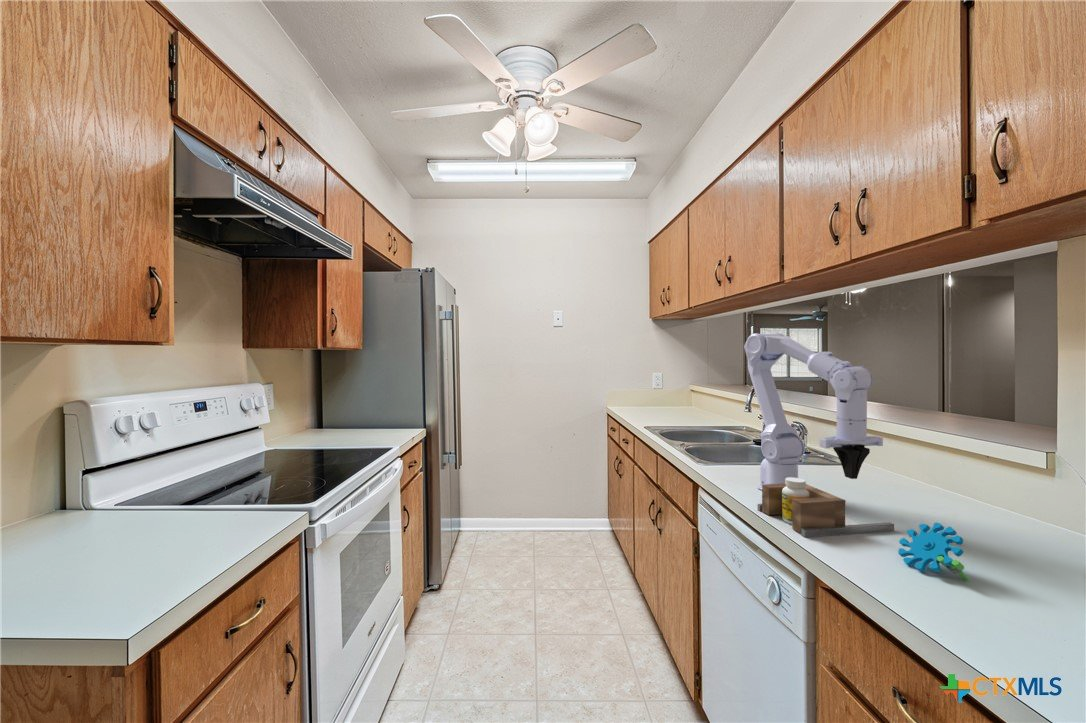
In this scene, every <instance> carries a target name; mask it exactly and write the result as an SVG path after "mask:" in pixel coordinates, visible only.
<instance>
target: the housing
mask: <svg viewBox="0 0 1086 723" xmlns="http://www.w3.org/2000/svg"><path fill="white" fill-rule="evenodd" d="M784 487H786V484H785V483H781V484H762V490H761V504H762V511H761V512H763V513H765V514H766V515H767V516H777V515H782V489H783V488H784ZM804 489H806V490H807V491H808V492H809V498H801V499H792V524H791V525H792V527H791V528H792V530H794V531H796V532H797V533H800V534H801V528H813V527H828V526H842V525H846V499H843V498H841V497H839V496H836V495H833V494H831V493H829V492H827V491H824V490H821V489H819V488H816V487H815V486H812V485H809V484H808V483H806V486H805V488H804Z"/></svg>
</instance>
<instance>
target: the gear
mask: <svg viewBox="0 0 1086 723" xmlns="http://www.w3.org/2000/svg"><path fill="white" fill-rule="evenodd" d="M918 527H919V530H920V531H919V534H918V533H917V531H916V530H915V529H913V528H910V529H908V530H906V534H907V535H908V536H909V537H911V539H912V541H911V542H909V540H908V539H906V537H902V538H901V539H900V540H899V541H898V542H899V544H900V545H901V546H902V547H906V548H910V549H909V550H906V549H905V548H901V547H900V548H898V551H897V553H898V555H899V556H900V557H901V558H903V561H904V563H905V565H907V566H908V567H912V566H914V568H915V569H916V570H917V571H919V572H921V573H924V572H925V571H926V570H927V569H926V568H927V567H929V569H930V570H931V571H933V572H937V573H938V572H941V570H942V568H941V566H943V567H946V569H947V570H949V571H950V572H952V573H953V574H958V575H959V577H960V578H962V579H963V580H964V581H965V582H968V581H969V579H970V578H969V577H968V575H966V574H965V573H964V572H963V570H965V565H964V564H963V563H962V562H961V561H960V560H958V559H953V558H952V557H950V556H949V552H951V551H952V553H953V554H954V555H955V556H957V557H959V558H960V557H961V556H962V555H963V554H964V552H965V551H964V550H963V549H962V548H961V547H960V546H963V545H964V538H963V537H961V535H957V534H958V533H957V532H956V530H955V529H954V528H953V527H952V526H951V525H950V526H947V527H944V525H942V524H941V523H940V522H934V523H933V525H932V527H930V526H929V525H928V524H927V523H920V524H919V525H918ZM948 536H950V537H948ZM952 543H954V544H956V545H958V546H952V545H950V544H952ZM909 556H910V557H909ZM911 556H912V557H911ZM940 564H941V566H940Z"/></svg>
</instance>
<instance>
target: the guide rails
mask: <svg viewBox="0 0 1086 723" xmlns="http://www.w3.org/2000/svg"><path fill="white" fill-rule="evenodd" d="M757 511H759V512H762V503H757ZM894 531H895V523H893V522H890V521H889V522H872V523H859V524H845V525H842V526H828V527H813V528H801V533H800V534H801V536H802V537H803V538H813V537H815V538H816V537H828V536H829V537H830V536H840V535H842V536H843V535H854V534H870V533H883V532H884V533H885V532H894Z"/></svg>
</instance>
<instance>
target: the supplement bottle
mask: <svg viewBox="0 0 1086 723" xmlns="http://www.w3.org/2000/svg"><path fill="white" fill-rule="evenodd" d="M785 484H786V487H784V488H783V489H782V514H781V515H782V520H783V521H784V522H785V523H787V524H789V525H792V499H801V498H809V492H808V491H807V490H806V489H804V488H805V486H806V484H807V482H806V480H805V479H803V478H800V477H798V478H793V477H789V478H786V479H785Z"/></svg>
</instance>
